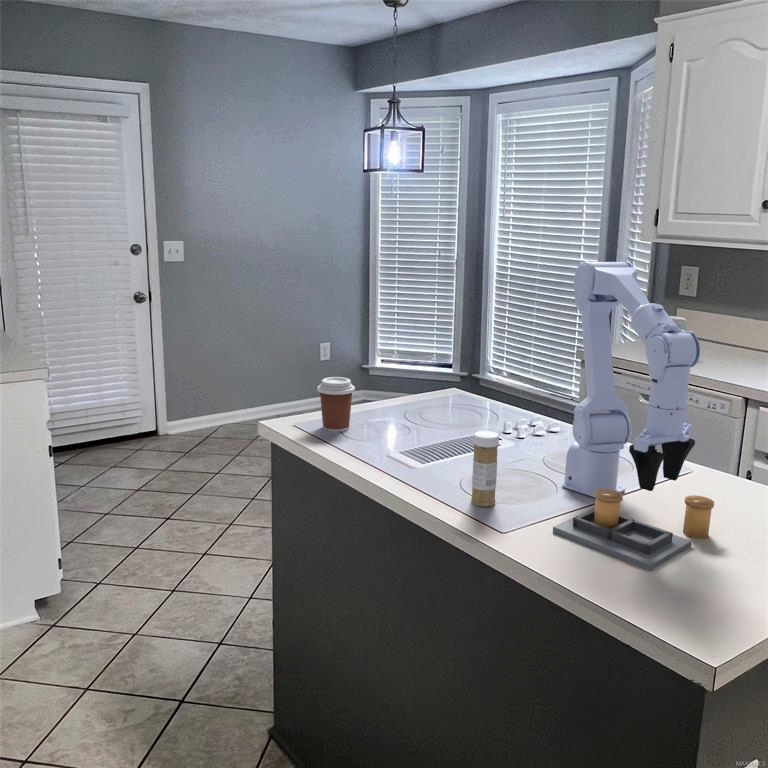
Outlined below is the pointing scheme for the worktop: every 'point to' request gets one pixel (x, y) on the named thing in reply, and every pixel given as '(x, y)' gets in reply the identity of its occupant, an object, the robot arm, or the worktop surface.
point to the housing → (625, 539)
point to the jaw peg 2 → (697, 516)
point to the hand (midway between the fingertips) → (658, 483)
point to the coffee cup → (336, 403)
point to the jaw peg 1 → (607, 507)
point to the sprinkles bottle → (484, 468)
